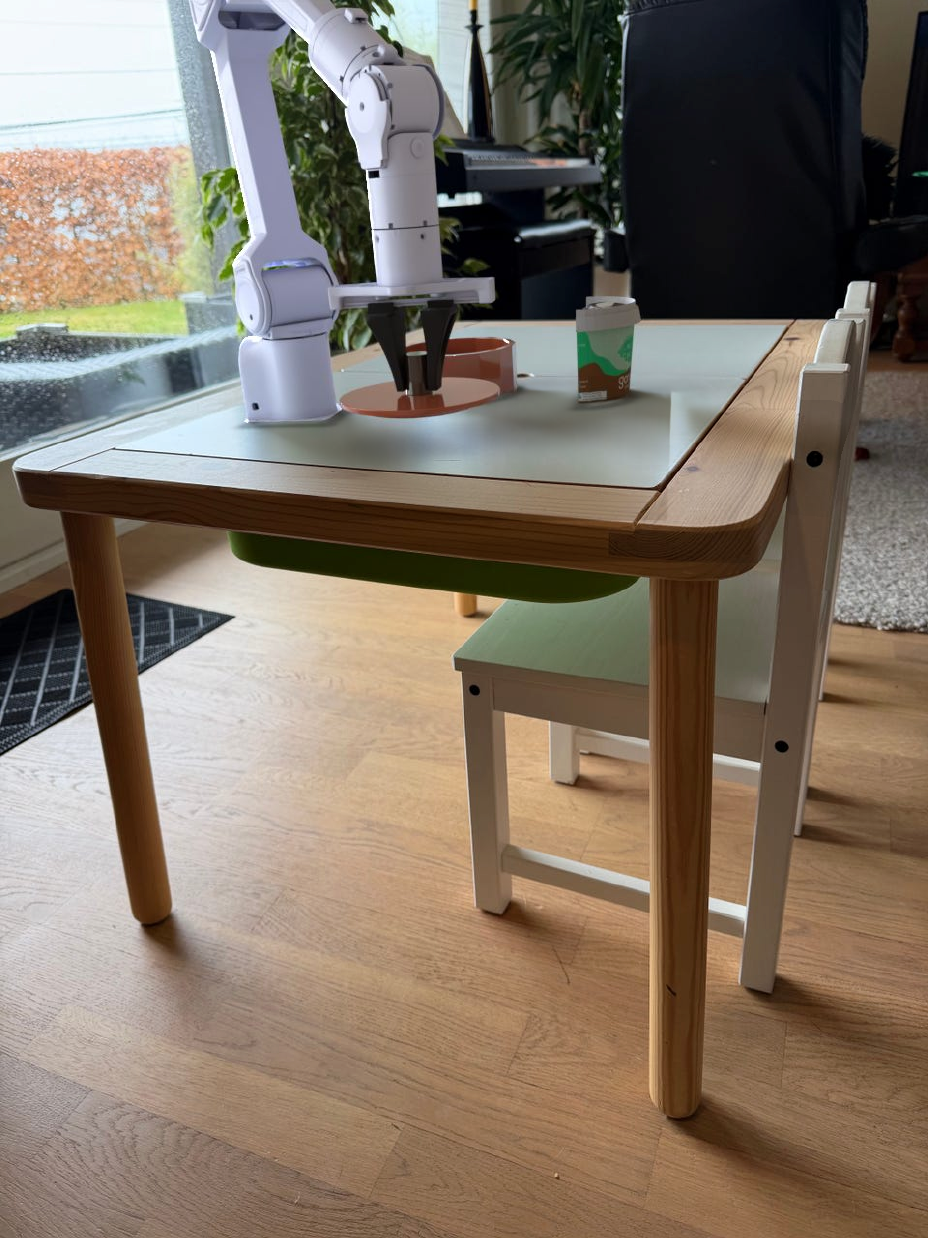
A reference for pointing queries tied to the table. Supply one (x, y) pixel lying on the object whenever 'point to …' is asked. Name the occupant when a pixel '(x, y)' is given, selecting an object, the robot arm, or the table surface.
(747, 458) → the table surface
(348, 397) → the cover
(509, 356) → the tin
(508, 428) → the table surface
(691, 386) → the table surface
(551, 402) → the table surface
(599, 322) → the food container
